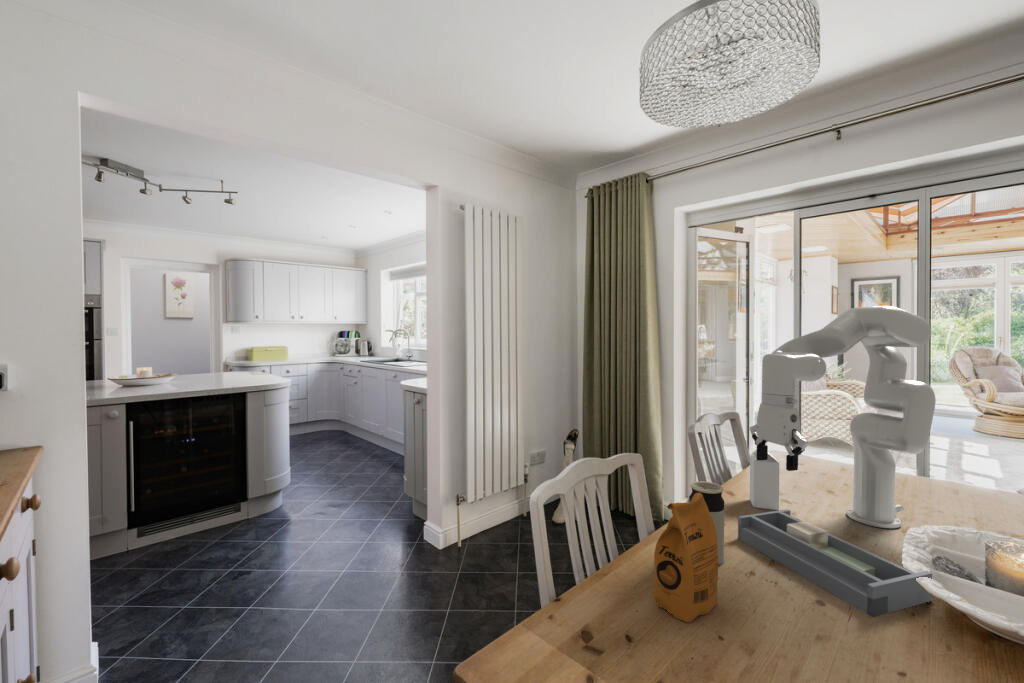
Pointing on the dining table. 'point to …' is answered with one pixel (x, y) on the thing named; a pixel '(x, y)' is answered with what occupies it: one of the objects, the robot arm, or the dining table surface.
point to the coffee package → (687, 561)
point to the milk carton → (764, 482)
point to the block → (809, 533)
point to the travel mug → (713, 509)
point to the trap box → (836, 565)
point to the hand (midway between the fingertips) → (776, 464)
